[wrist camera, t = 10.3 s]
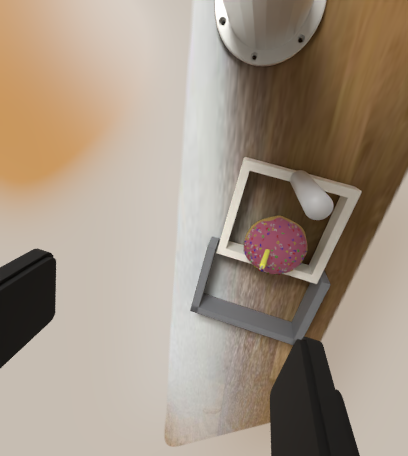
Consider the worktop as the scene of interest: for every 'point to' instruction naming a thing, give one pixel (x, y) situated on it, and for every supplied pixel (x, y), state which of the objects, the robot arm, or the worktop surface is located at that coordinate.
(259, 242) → the pink frosted cake
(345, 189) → the collar
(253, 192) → the worktop surface
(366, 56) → the worktop surface
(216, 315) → the holder bay
